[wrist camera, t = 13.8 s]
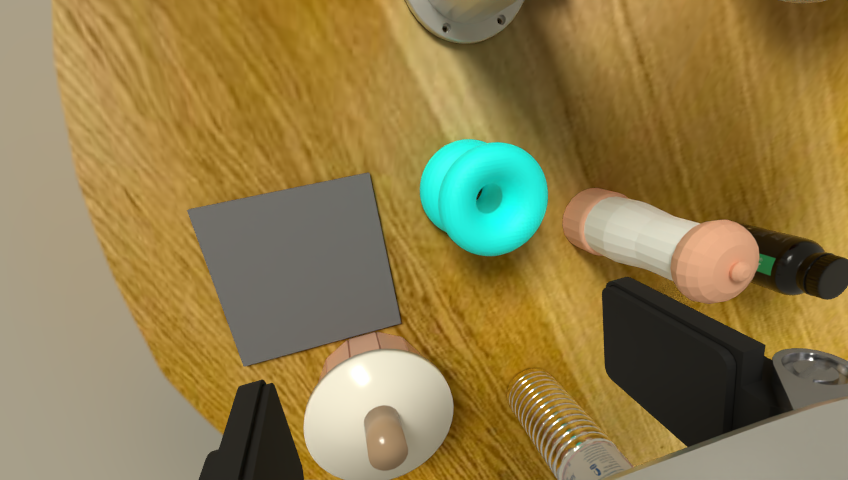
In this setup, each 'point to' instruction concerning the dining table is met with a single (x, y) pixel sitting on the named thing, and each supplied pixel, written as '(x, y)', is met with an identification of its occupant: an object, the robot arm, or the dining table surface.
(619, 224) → the pepper shaker
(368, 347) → the bowl
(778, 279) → the supplement bottle
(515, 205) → the donuts
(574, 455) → the water bottle
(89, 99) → the dining table surface
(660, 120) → the dining table surface
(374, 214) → the mat
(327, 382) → the lid
